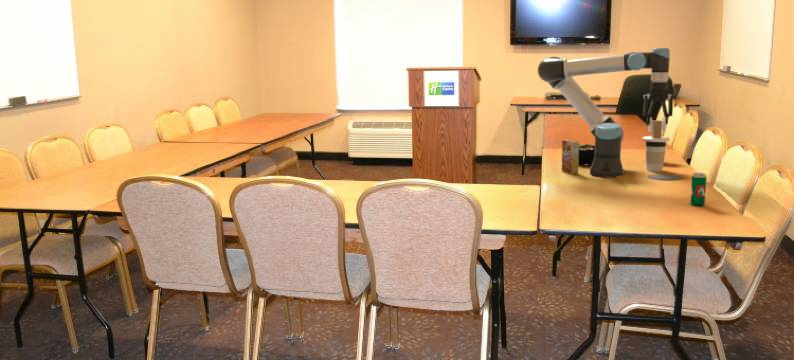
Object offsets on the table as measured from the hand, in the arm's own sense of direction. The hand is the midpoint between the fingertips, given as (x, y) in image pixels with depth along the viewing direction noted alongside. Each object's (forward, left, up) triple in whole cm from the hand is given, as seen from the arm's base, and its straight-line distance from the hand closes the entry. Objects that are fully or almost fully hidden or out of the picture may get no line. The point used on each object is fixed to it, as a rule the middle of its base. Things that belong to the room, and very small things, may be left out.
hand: (656, 131), depth 318 cm
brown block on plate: (0, 0, -4) cm, 4 cm away
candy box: (-35, +19, -20) cm, 44 cm away
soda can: (-37, -57, -20) cm, 71 cm away
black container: (-13, +34, -20) cm, 41 cm away
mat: (-9, -15, -19) cm, 26 cm away
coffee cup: (0, 0, -20) cm, 20 cm away
